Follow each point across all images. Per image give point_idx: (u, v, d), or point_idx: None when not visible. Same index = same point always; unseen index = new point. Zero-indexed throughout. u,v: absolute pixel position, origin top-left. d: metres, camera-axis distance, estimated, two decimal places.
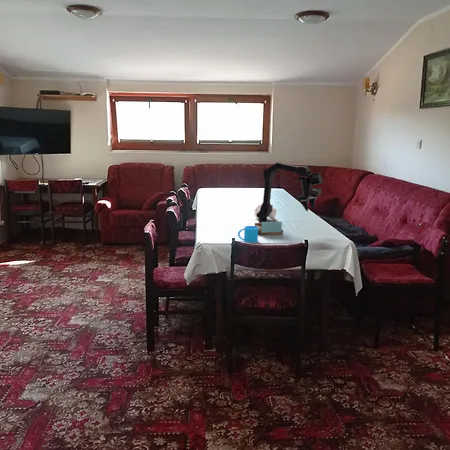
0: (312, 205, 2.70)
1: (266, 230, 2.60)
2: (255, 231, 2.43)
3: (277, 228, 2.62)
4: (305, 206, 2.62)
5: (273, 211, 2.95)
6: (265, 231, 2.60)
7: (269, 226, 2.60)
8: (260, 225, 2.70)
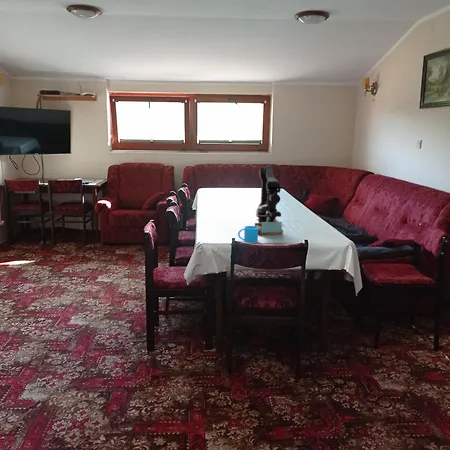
0: None
1: (266, 230, 2.60)
2: (255, 231, 2.43)
3: (277, 228, 2.62)
4: None
5: None
6: (265, 231, 2.60)
7: (269, 226, 2.60)
8: (260, 225, 2.70)
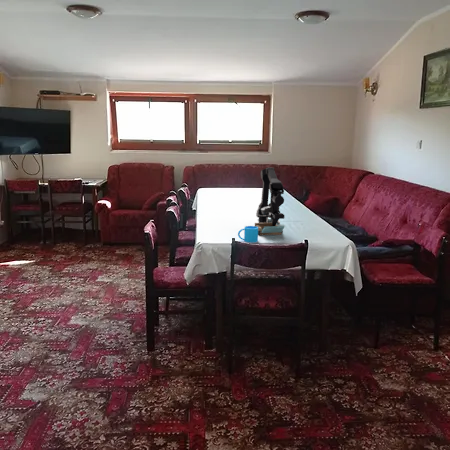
0: None
1: (266, 231, 2.60)
2: (255, 231, 2.43)
3: (278, 230, 2.61)
4: None
5: None
6: (265, 232, 2.60)
7: (270, 229, 2.58)
8: (260, 225, 2.70)
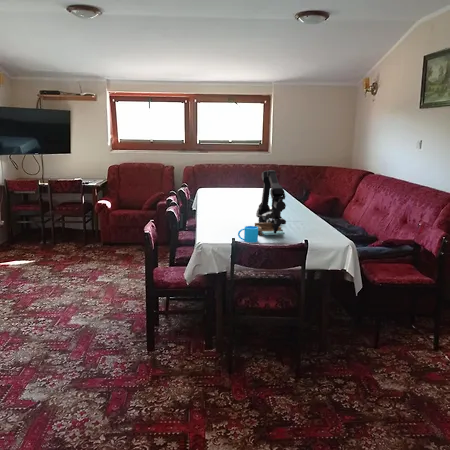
0: None
1: None
2: (255, 231, 2.43)
3: None
4: None
5: None
6: None
7: None
8: (260, 225, 2.70)
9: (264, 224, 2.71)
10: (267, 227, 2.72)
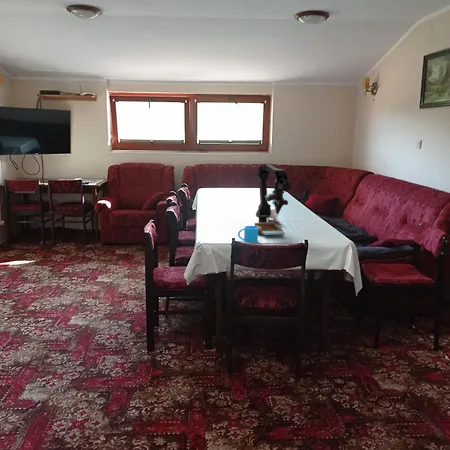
0: None
1: None
2: (255, 231, 2.43)
3: None
4: None
5: (274, 212, 2.91)
6: None
7: None
8: (260, 225, 2.70)
9: (264, 224, 2.71)
10: (267, 227, 2.72)
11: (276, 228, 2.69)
